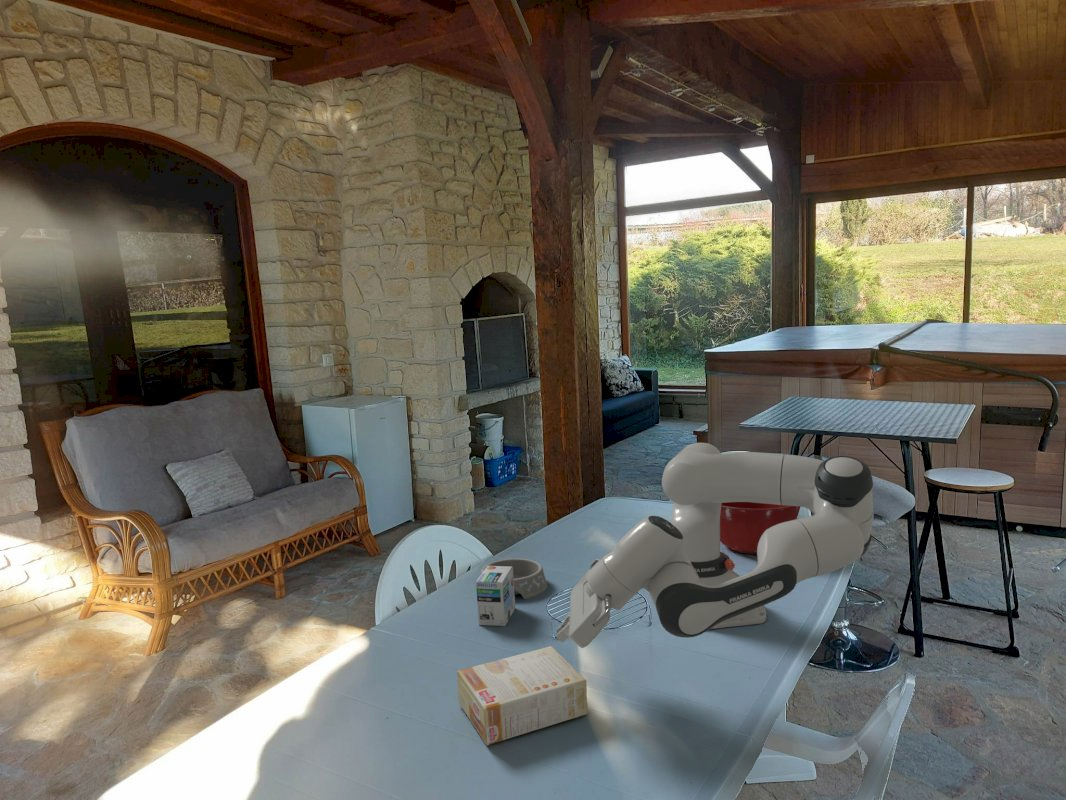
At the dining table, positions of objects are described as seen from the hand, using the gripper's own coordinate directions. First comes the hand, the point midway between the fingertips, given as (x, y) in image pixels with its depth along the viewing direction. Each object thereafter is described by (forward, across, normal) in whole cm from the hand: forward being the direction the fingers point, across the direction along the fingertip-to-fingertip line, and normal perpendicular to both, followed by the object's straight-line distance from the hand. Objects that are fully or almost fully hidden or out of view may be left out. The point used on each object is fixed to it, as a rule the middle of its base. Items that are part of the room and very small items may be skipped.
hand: (559, 636), depth 139 cm
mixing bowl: (-29, +78, -46) cm, 95 cm away
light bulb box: (+20, +35, +3) cm, 40 cm away
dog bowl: (+19, +53, +2) cm, 56 cm away
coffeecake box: (+4, -2, -6) cm, 8 cm away
